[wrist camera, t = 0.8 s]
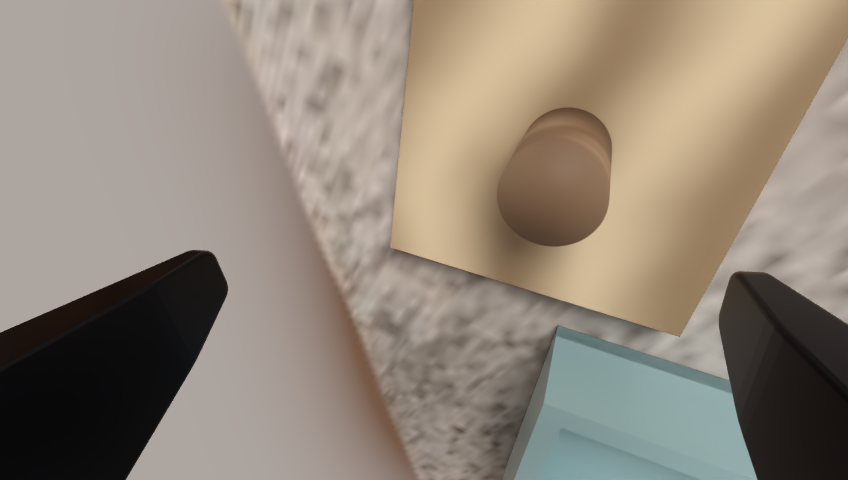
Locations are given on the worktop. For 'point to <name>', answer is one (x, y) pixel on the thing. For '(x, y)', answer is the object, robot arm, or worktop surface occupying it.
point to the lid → (601, 139)
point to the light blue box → (626, 419)
